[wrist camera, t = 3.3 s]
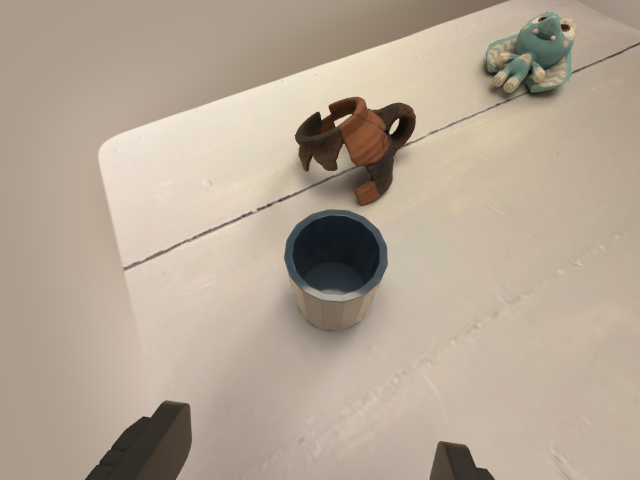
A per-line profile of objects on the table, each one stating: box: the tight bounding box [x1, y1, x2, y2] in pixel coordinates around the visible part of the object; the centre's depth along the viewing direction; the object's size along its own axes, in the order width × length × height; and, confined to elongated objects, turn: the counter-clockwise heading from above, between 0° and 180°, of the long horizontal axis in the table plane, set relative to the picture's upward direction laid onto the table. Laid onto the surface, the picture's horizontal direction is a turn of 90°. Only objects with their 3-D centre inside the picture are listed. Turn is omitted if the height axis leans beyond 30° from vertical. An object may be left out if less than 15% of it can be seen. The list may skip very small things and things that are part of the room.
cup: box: [284, 209, 388, 332], centre depth 22 cm, size 6×6×8 cm
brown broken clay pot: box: [295, 97, 416, 205], centre depth 31 cm, size 12×10×8 cm
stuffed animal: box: [486, 12, 577, 93], centre depth 37 cm, size 11×7×12 cm
